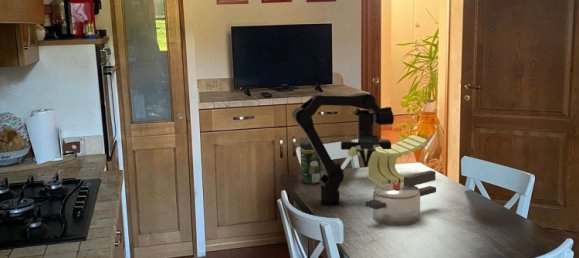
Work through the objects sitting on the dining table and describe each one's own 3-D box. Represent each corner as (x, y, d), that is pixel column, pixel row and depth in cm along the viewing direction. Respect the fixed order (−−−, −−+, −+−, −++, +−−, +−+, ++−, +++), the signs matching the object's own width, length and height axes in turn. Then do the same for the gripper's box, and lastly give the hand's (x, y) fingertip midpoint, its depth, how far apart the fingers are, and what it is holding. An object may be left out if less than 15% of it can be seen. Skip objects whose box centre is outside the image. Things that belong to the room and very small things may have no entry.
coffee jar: (298, 179, 260) (297, 138, 257) (315, 178, 262) (314, 137, 259) (305, 185, 251) (304, 142, 248) (323, 183, 253) (322, 140, 250)
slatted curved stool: (410, 172, 269) (410, 133, 266) (426, 180, 254) (427, 139, 251) (348, 177, 261) (347, 138, 258) (361, 186, 246) (361, 144, 243)
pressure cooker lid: (397, 201, 192) (397, 188, 192) (364, 191, 204) (364, 179, 204) (449, 186, 208) (450, 174, 207) (416, 178, 220) (416, 167, 219)
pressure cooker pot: (388, 231, 191) (388, 205, 190) (354, 219, 204) (354, 194, 202) (450, 212, 209) (451, 188, 208) (416, 202, 222) (416, 179, 220)
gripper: (341, 130, 216) (341, 171, 218) (392, 129, 214) (392, 171, 217) (340, 125, 227) (341, 165, 229) (389, 124, 225) (389, 164, 228)
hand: (365, 166), depth 225 cm, fingers closed
